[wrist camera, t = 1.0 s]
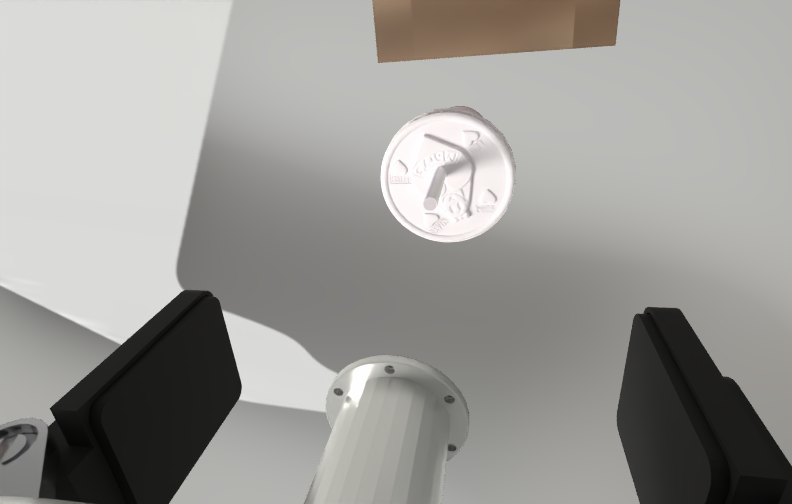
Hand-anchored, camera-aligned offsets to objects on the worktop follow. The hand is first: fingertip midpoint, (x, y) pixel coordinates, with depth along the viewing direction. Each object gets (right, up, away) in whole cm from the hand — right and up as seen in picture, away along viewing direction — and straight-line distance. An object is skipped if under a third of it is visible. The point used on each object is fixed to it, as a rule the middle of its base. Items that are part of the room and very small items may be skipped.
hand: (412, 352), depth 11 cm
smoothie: (+4, +10, +20) cm, 23 cm away
